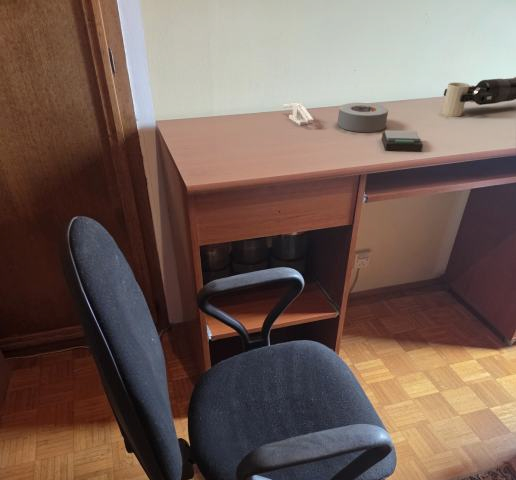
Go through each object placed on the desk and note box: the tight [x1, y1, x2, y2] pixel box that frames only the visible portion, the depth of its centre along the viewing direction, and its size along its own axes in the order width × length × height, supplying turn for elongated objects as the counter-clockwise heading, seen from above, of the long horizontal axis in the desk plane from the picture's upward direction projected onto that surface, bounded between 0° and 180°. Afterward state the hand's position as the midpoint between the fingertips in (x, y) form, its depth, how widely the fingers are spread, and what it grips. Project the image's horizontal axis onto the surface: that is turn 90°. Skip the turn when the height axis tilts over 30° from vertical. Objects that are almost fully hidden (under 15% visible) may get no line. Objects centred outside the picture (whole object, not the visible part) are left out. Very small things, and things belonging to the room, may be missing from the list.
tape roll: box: [337, 102, 389, 133], centre depth 144 cm, size 15×15×5 cm
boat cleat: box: [282, 102, 315, 126], centre depth 148 cm, size 4×20×5 cm, turn 20°
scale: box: [381, 129, 424, 153], centre depth 129 cm, size 10×10×3 cm
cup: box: [441, 82, 471, 118], centre depth 152 cm, size 7×7×9 cm
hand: (452, 95), depth 151 cm, fingers open, 8 cm apart
